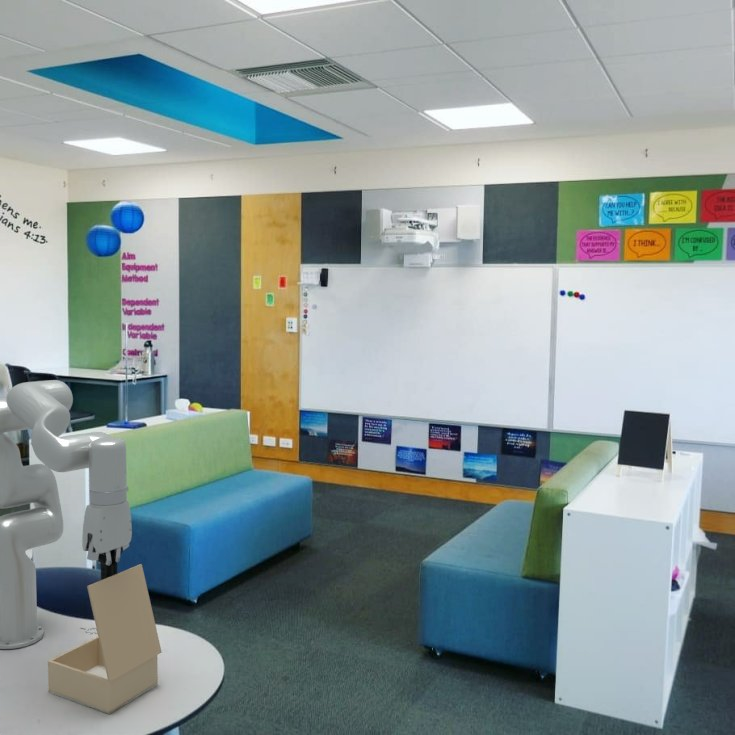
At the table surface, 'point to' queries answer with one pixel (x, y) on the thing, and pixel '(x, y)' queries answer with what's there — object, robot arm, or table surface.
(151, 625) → the lid
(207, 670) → the table surface
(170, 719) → the table surface
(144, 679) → the box
